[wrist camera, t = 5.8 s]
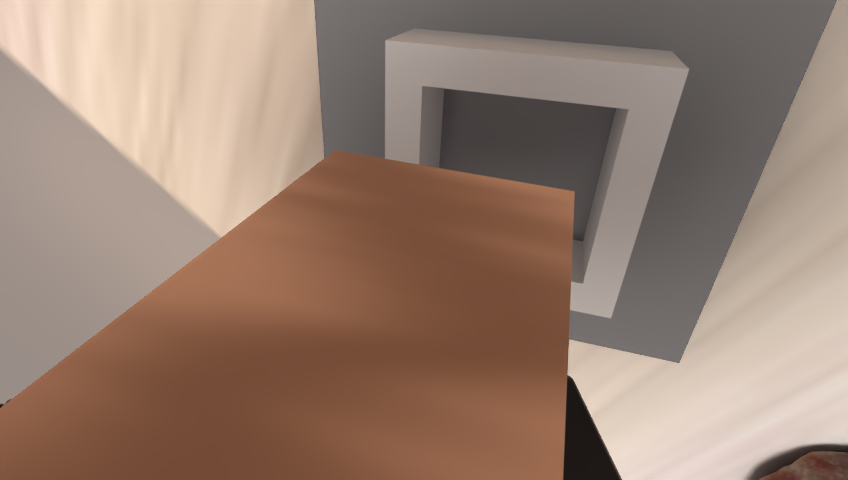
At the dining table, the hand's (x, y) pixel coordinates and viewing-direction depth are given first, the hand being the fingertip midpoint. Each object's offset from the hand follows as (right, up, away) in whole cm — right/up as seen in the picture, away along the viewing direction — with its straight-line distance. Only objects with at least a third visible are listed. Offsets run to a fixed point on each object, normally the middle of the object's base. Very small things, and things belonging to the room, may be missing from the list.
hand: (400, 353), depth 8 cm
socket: (+4, +5, +11) cm, 13 cm away
